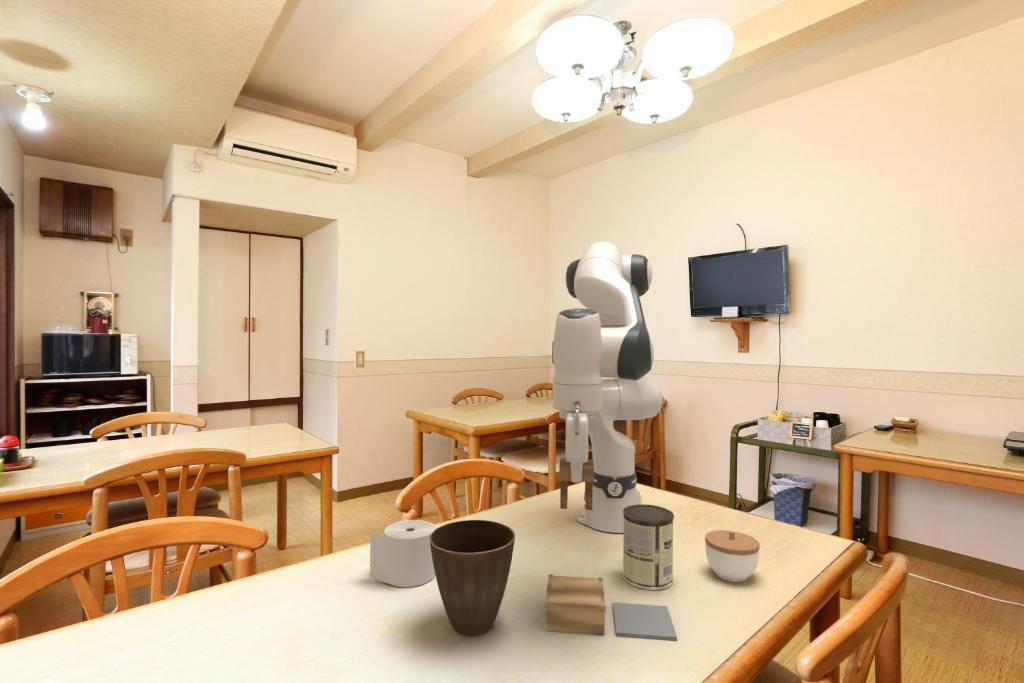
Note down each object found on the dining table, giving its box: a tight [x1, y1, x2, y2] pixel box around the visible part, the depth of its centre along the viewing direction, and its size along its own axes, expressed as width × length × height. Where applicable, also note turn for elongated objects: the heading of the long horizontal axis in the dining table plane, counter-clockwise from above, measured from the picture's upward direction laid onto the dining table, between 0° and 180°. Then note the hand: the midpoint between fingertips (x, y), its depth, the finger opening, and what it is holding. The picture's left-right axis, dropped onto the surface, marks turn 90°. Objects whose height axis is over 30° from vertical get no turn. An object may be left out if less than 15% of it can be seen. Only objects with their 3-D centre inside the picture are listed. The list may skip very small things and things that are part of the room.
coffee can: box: [622, 503, 675, 591], centre depth 110 cm, size 10×10×14 cm
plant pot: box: [429, 519, 516, 637], centre depth 92 cm, size 15×15×16 cm
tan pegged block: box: [558, 457, 594, 510], centre depth 95 cm, size 6×6×8 cm
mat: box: [611, 602, 678, 641], centre depth 94 cm, size 10×10×1 cm
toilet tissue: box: [369, 519, 437, 588], centre depth 110 cm, size 11×12×10 cm
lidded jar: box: [704, 529, 760, 583], centre depth 112 cm, size 11×11×9 cm
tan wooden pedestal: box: [545, 573, 606, 636], centre depth 95 cm, size 10×10×5 cm
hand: (576, 475), depth 95 cm, fingers closed on tan pegged block, 6 cm apart
